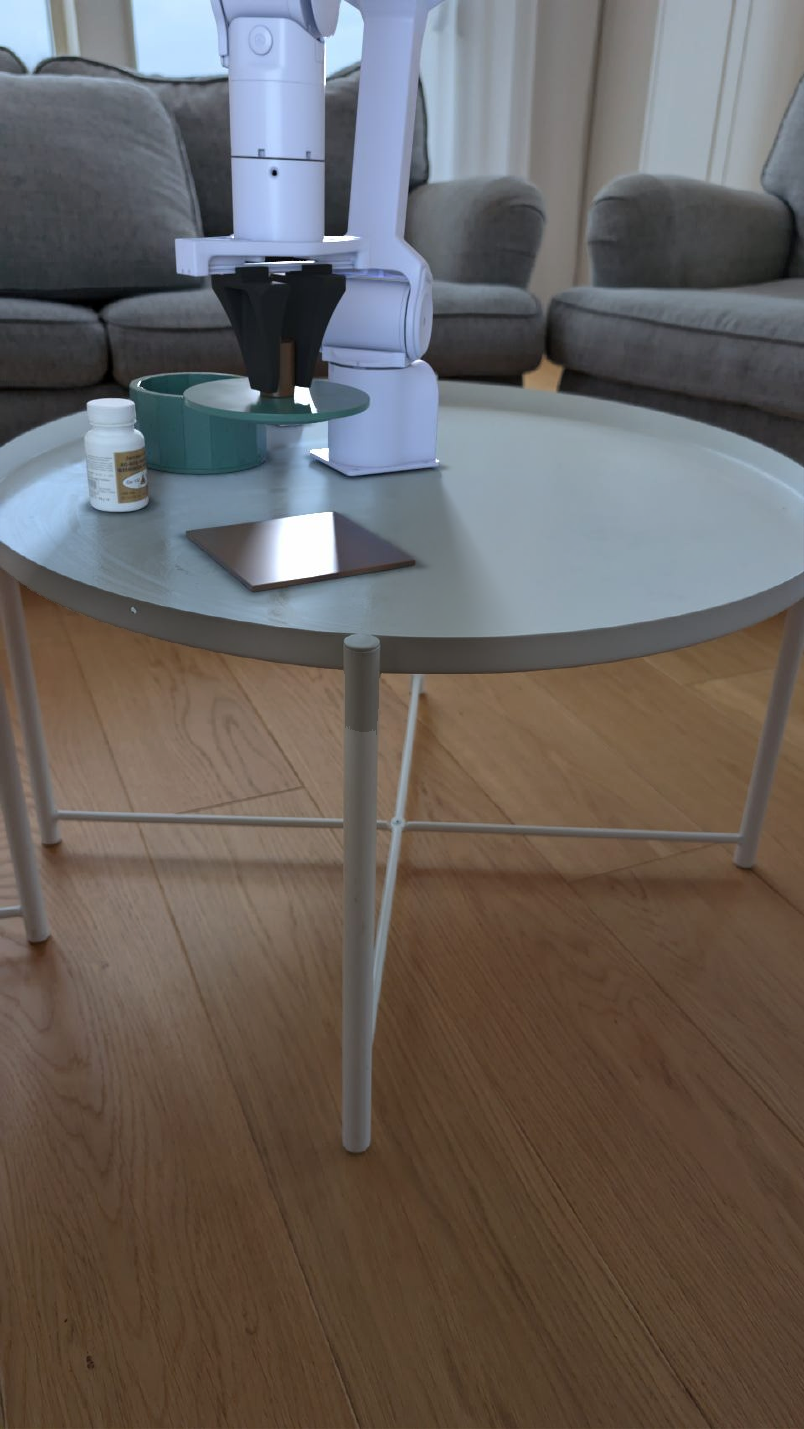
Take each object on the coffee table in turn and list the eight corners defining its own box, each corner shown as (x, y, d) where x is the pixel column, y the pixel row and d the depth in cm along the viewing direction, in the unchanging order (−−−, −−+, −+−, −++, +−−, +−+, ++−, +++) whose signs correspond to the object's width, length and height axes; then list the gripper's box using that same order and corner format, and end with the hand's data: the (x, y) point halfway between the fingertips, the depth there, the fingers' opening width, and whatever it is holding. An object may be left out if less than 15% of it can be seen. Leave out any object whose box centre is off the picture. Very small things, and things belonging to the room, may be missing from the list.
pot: (236, 437, 100) (234, 369, 97) (287, 466, 91) (286, 392, 88) (119, 448, 95) (112, 376, 92) (161, 479, 86) (155, 401, 83)
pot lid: (294, 386, 78) (294, 322, 76) (407, 417, 70) (410, 346, 68) (148, 404, 70) (143, 333, 68) (256, 441, 62) (254, 362, 60)
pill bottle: (134, 516, 77) (125, 411, 73) (80, 510, 78) (68, 406, 74) (158, 500, 81) (151, 399, 77) (106, 494, 82) (96, 394, 78)
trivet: (334, 516, 79) (334, 511, 79) (415, 565, 70) (415, 559, 70) (185, 536, 74) (185, 530, 73) (252, 592, 65) (252, 586, 64)
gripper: (322, 162, 70) (321, 369, 76) (139, 153, 61) (156, 390, 67) (396, 165, 66) (388, 384, 72) (212, 156, 56) (222, 408, 63)
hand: (281, 388), depth 69 cm, fingers closed on pot lid, 2 cm apart
